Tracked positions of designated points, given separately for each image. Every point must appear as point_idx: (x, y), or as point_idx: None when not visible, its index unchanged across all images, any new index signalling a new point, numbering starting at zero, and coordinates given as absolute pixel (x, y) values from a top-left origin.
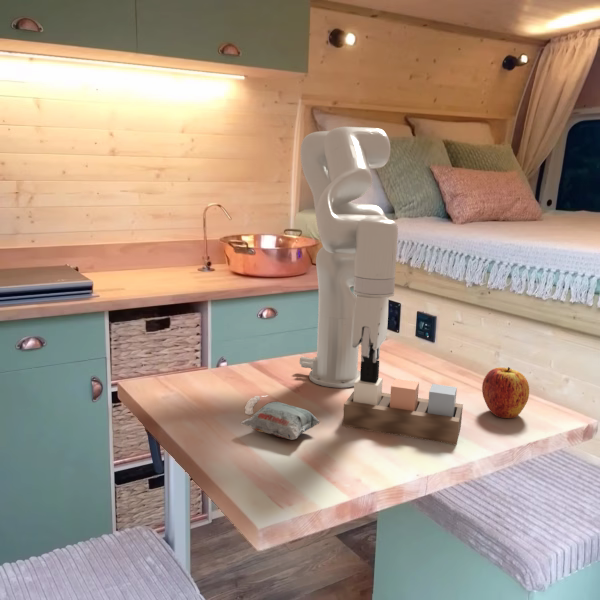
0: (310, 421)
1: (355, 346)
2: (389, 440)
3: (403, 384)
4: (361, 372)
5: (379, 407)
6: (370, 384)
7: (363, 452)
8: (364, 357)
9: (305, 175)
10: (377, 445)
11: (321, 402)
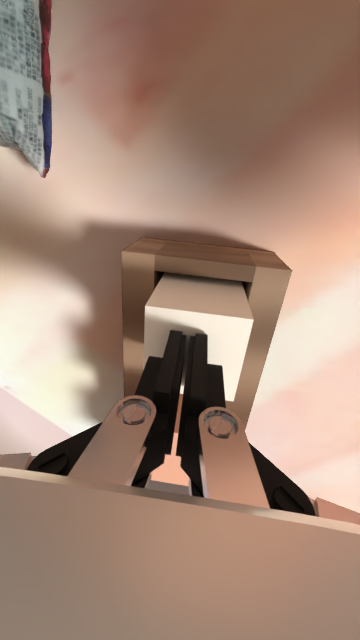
0: (6, 145)
1: (18, 470)
2: (111, 346)
3: (172, 456)
4: (166, 352)
5: (137, 355)
6: (144, 365)
7: (32, 302)
8: (67, 446)
9: None
10: (77, 326)
11: (331, 115)
